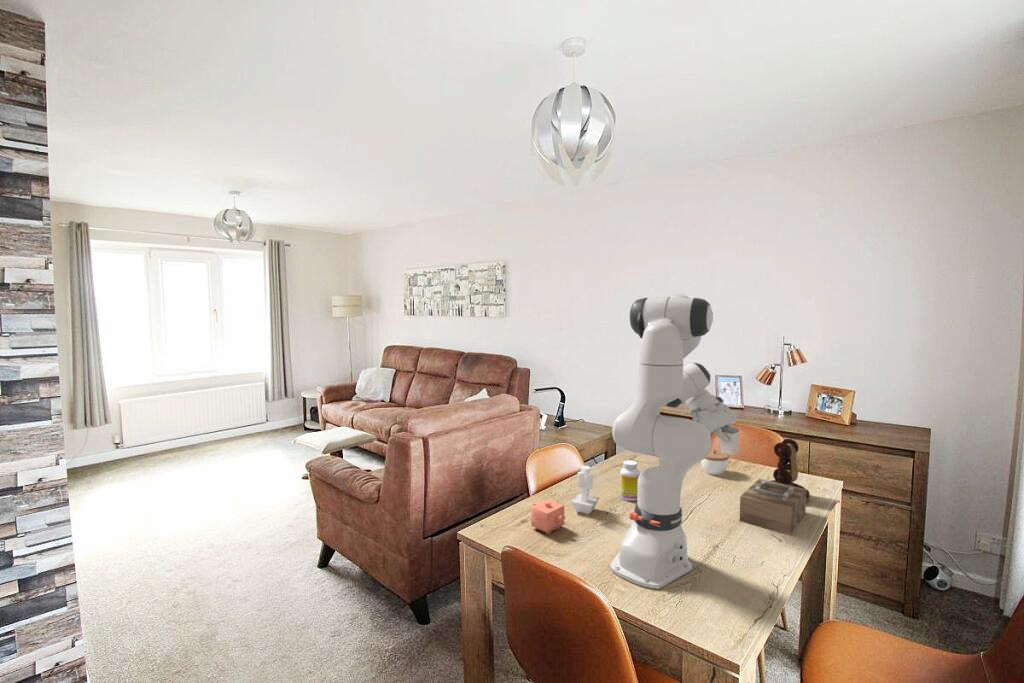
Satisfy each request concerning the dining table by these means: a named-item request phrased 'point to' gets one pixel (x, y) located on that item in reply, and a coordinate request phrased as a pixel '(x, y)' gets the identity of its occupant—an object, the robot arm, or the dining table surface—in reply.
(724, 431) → the grey white rectangular block
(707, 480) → the dining table surface
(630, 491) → the supplement bottle
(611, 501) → the dining table surface
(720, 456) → the lidded jar
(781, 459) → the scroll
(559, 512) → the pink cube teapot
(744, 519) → the block
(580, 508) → the figurine
